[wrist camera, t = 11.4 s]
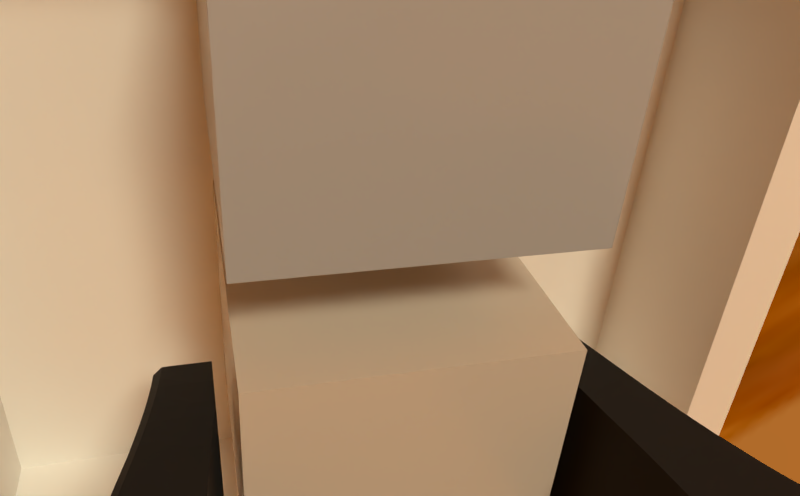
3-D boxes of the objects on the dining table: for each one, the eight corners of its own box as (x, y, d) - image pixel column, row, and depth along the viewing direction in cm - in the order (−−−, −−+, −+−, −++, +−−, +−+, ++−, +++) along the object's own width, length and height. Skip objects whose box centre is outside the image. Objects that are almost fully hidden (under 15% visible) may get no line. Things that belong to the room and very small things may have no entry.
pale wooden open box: (773, -294, 10) (1018, -324, 7) (595, 384, 16) (688, 513, 13) (-305, -423, 7) (-639, -566, 4) (-12, 472, 13) (-61, 666, 10)
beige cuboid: (451, 166, 11) (587, 350, 8) (430, 348, 13) (531, 565, 10) (212, 179, 11) (239, 393, 7) (225, 372, 12) (251, 623, 9)
